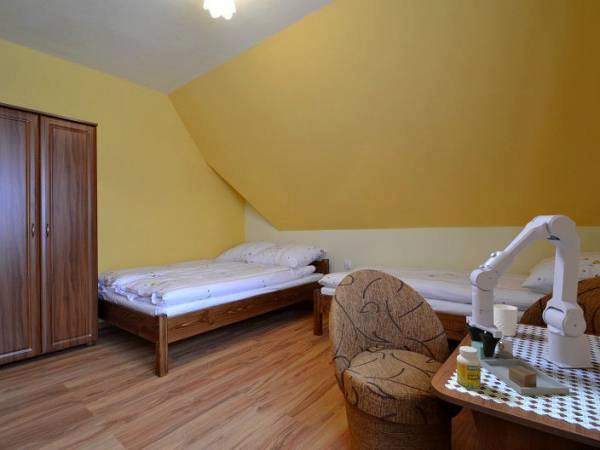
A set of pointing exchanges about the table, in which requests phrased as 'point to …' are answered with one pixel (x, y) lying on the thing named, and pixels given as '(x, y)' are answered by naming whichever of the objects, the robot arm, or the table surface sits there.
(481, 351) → the teal block
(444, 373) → the table surface
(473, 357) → the supplement bottle
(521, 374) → the walnut cube
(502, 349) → the cylinder
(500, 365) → the tray
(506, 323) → the white cup
